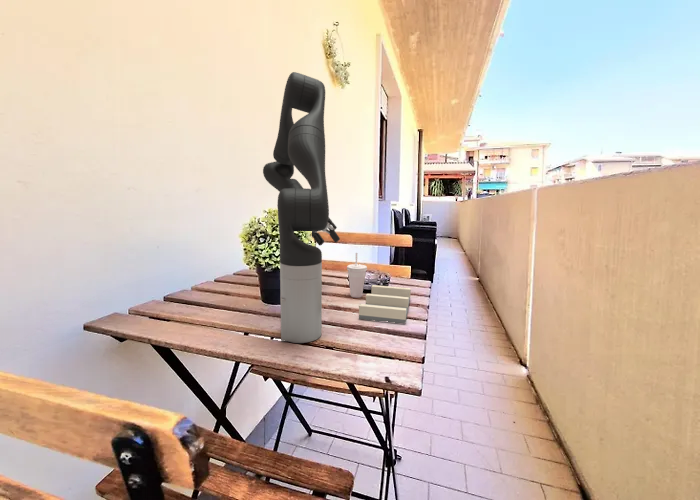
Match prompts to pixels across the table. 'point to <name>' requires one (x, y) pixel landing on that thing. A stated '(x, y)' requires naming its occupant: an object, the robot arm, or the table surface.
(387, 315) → the rack
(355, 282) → the smoothie
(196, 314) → the table surface
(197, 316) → the table surface
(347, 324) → the table surface
